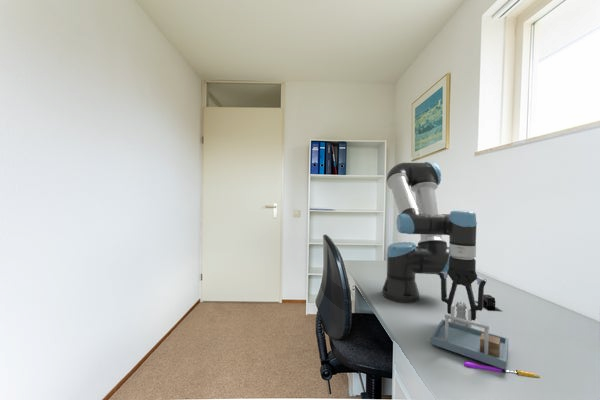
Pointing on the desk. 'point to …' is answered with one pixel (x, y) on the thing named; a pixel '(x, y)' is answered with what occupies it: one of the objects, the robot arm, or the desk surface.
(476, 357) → the tray
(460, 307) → the rook chess piece
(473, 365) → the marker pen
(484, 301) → the black piece
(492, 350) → the walnut block
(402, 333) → the desk surface
